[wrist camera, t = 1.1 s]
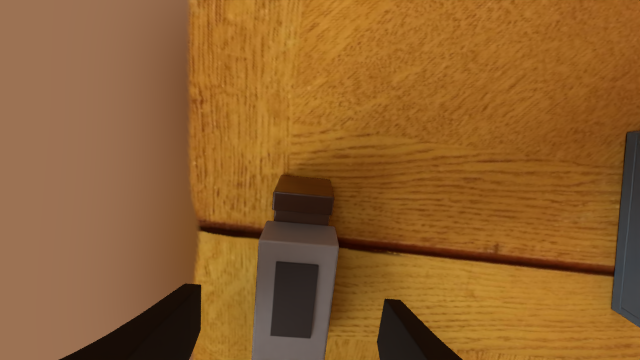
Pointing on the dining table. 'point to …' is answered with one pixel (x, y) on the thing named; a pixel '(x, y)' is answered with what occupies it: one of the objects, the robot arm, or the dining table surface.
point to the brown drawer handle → (303, 200)
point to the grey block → (294, 291)
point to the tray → (629, 237)
